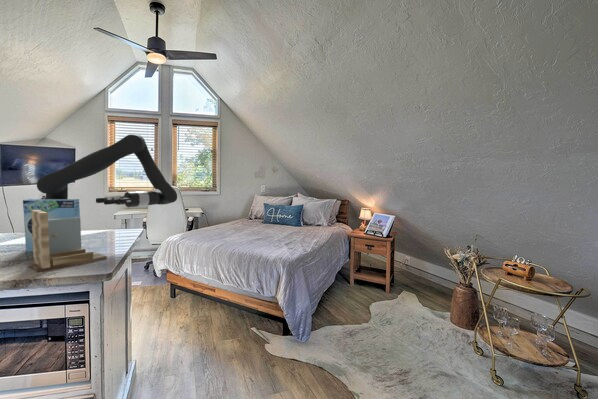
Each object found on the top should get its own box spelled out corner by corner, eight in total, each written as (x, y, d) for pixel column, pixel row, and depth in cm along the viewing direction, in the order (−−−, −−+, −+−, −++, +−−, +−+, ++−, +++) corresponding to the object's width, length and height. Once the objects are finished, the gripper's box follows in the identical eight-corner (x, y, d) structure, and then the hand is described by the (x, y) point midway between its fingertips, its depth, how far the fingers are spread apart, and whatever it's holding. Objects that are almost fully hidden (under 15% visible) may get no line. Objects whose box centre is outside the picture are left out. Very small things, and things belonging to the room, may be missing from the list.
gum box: (81, 248, 139) (80, 199, 137) (76, 251, 134) (74, 200, 132) (32, 249, 135) (30, 198, 133) (24, 252, 130) (22, 199, 128)
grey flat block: (43, 258, 122) (41, 219, 120) (77, 252, 132) (76, 216, 130) (47, 261, 119) (45, 221, 118) (82, 255, 129) (81, 218, 127)
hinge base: (29, 265, 113) (26, 210, 111) (95, 254, 131) (94, 206, 129) (38, 272, 106) (35, 213, 105) (106, 258, 124) (105, 208, 122)
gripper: (129, 190, 152) (93, 192, 139) (143, 192, 144) (106, 194, 131) (130, 205, 153) (93, 208, 140) (144, 207, 145) (107, 211, 132)
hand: (100, 201), depth 135 cm, fingers open, 8 cm apart
